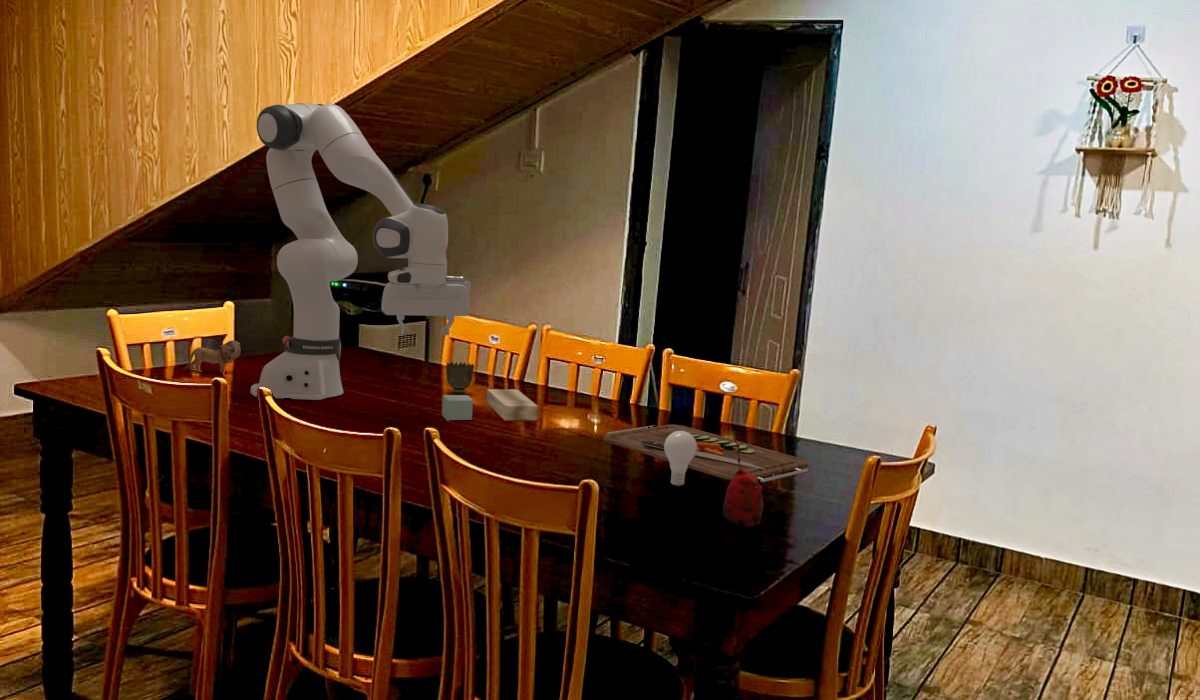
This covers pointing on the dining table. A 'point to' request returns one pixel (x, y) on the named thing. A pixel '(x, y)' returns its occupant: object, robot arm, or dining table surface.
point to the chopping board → (710, 452)
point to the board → (511, 404)
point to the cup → (459, 376)
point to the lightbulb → (679, 454)
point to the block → (457, 407)
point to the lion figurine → (215, 355)
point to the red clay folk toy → (743, 497)
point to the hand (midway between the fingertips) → (425, 334)
